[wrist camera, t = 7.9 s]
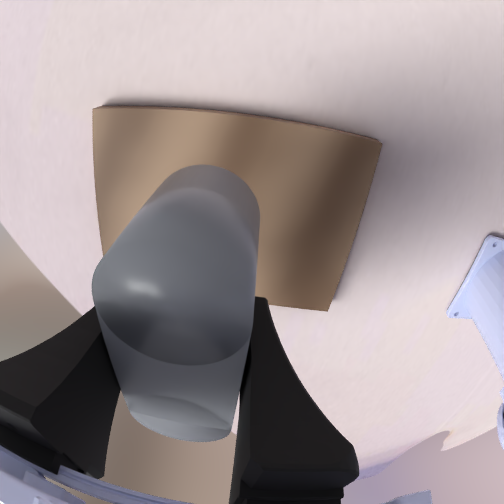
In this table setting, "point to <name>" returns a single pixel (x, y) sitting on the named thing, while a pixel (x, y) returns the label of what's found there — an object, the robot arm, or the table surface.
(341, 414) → the table surface
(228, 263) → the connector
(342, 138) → the walnut board
